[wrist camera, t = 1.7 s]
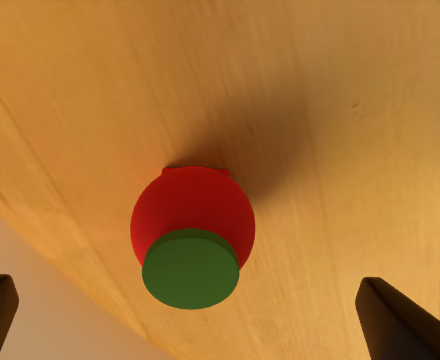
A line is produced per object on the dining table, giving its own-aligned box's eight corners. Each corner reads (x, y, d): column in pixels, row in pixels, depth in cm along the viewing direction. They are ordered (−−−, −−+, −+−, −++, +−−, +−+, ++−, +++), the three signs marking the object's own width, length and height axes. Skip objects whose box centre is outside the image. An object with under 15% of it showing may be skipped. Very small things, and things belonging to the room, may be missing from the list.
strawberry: (243, 238, 13) (257, 326, 10) (145, 237, 13) (122, 326, 10) (252, 148, 12) (274, 214, 8) (138, 145, 11) (105, 211, 8)
